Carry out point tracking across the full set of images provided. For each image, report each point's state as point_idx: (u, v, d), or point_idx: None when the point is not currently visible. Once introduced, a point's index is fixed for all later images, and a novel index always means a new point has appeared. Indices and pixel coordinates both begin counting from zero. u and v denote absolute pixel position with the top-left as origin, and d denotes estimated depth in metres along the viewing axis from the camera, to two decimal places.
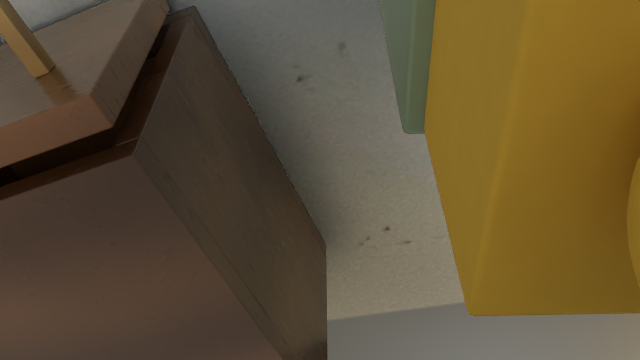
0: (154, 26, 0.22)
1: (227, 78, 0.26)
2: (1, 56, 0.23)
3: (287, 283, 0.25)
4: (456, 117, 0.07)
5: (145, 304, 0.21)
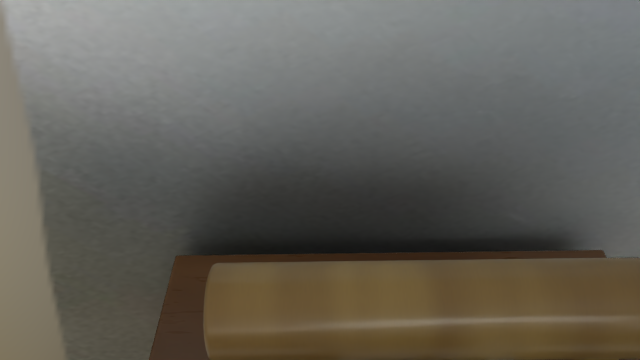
0: None
1: None
2: None
3: None
4: None
5: None
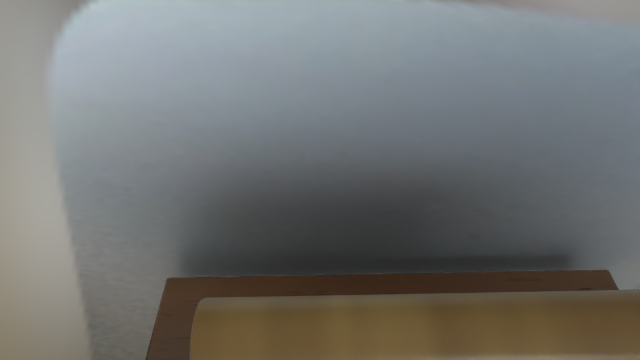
0: None
1: None
2: None
3: None
4: None
5: None
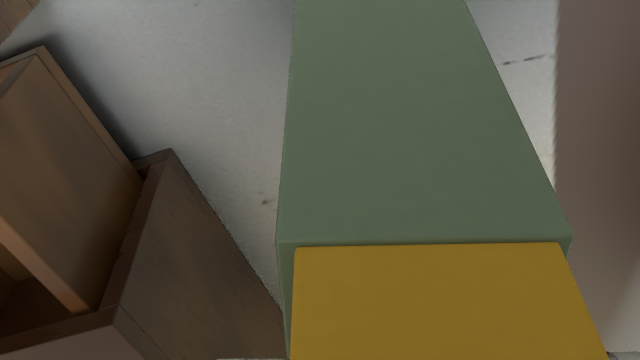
0: (12, 18, 0.21)
1: (200, 205, 0.30)
2: None
3: None
4: None
5: None
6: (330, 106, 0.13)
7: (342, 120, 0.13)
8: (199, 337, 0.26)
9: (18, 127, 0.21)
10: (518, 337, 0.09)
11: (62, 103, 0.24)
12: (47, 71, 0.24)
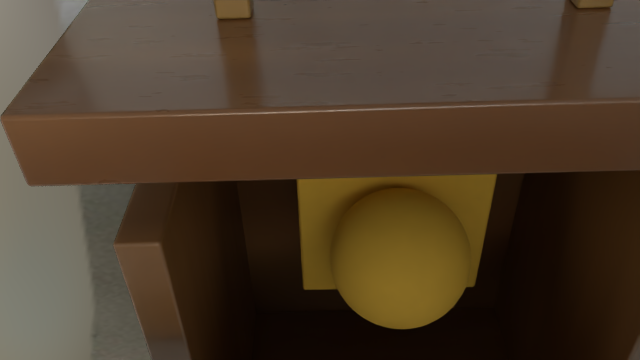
0: None
1: None
2: None
3: None
4: None
5: None
6: None
7: None
8: None
9: None
10: None
11: None
12: None
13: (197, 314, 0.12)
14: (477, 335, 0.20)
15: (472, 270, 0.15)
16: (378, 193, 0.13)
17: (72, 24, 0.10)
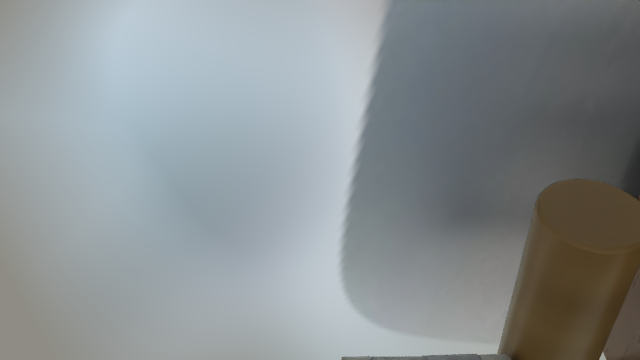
0: None
1: None
2: None
3: None
4: None
5: None
6: None
7: None
8: None
9: None
10: None
11: None
12: None
13: None
14: None
15: None
16: None
17: None
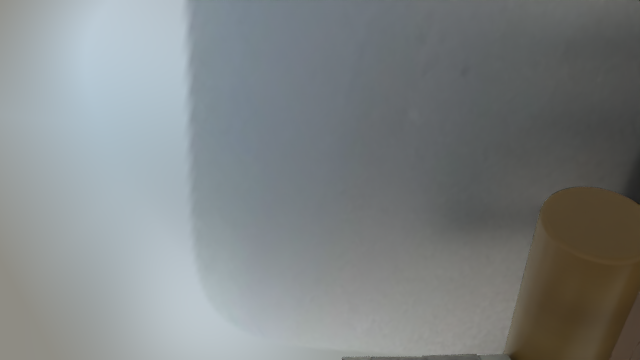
0: None
1: None
2: None
3: None
4: None
5: None
6: None
7: None
8: None
9: None
10: None
11: None
12: None
13: None
14: None
15: None
16: None
17: None
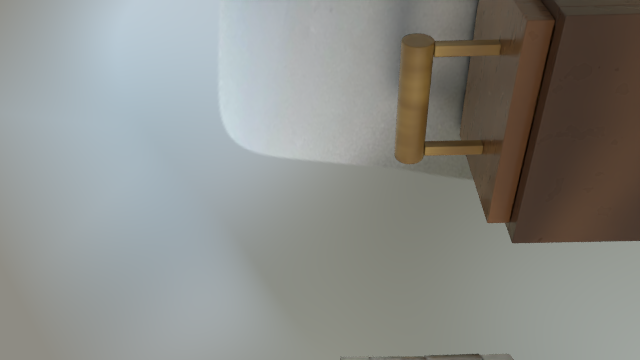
0: None
1: None
2: (474, 76, 0.35)
3: None
4: None
5: None
6: None
7: None
8: None
9: None
10: None
11: None
12: None
13: None
14: None
15: None
16: None
17: None
